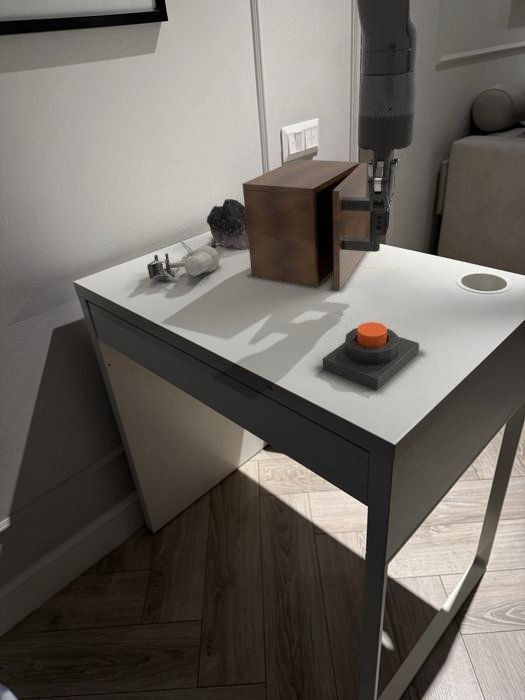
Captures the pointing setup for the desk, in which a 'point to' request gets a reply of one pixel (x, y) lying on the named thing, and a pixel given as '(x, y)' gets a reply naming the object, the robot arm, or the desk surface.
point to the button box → (370, 359)
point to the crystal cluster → (229, 224)
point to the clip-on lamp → (187, 262)
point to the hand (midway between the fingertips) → (380, 231)
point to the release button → (371, 334)
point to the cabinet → (293, 220)
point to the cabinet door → (351, 225)
